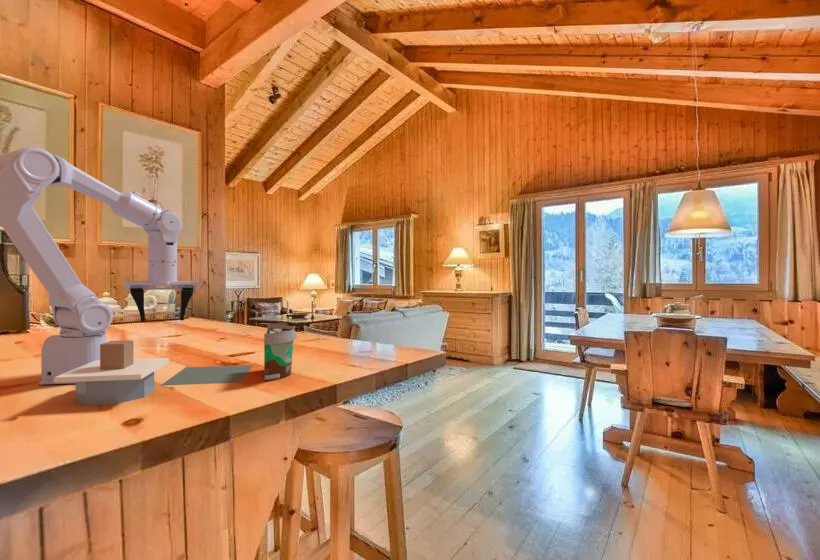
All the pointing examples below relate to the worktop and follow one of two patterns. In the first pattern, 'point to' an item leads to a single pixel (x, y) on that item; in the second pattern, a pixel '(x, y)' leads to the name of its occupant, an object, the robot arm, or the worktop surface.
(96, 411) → the worktop surface
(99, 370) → the lid
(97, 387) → the bowl
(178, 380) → the mat
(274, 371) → the food container
